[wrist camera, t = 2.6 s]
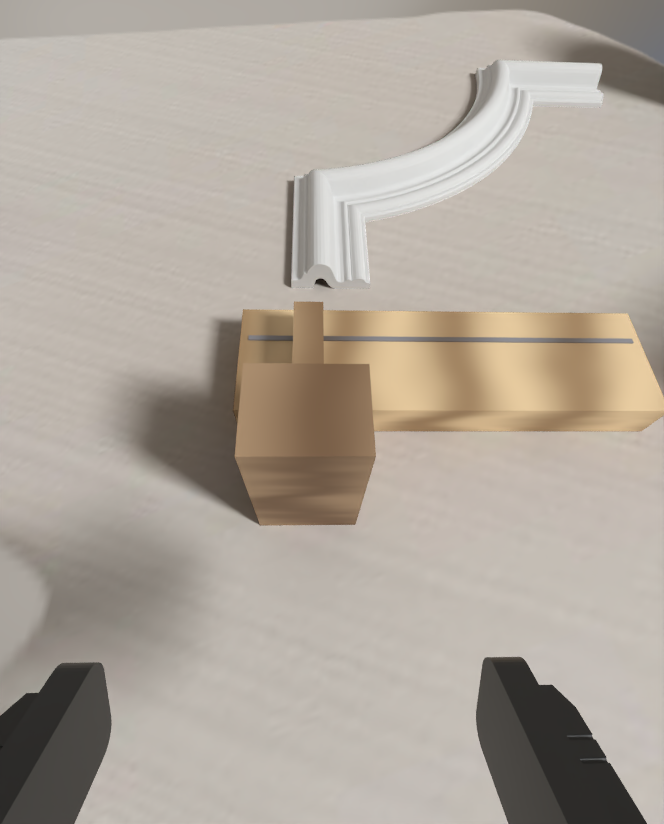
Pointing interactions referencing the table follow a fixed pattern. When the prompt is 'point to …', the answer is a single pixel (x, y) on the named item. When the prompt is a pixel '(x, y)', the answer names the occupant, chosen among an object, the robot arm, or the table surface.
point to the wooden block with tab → (306, 432)
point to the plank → (479, 367)
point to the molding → (425, 168)
